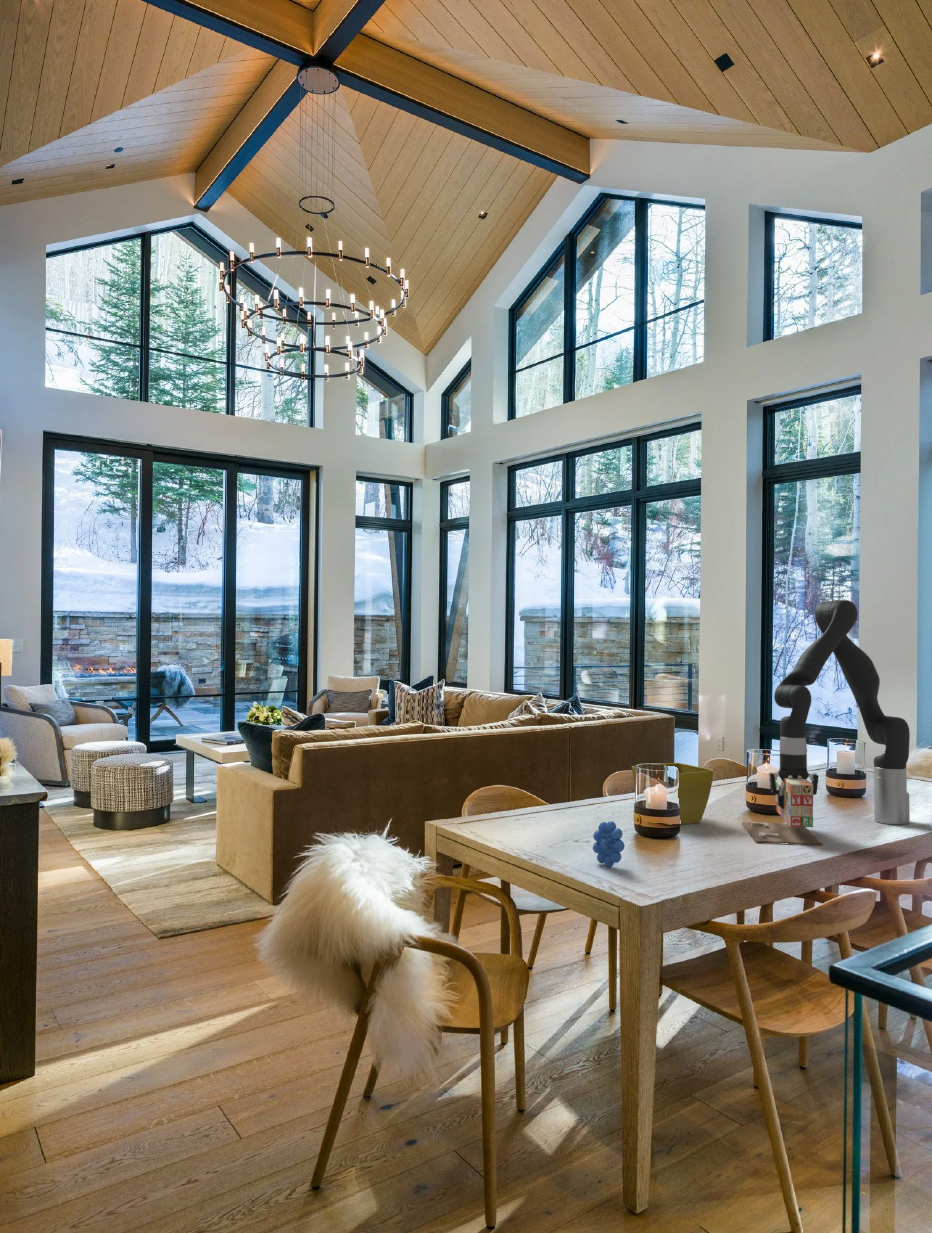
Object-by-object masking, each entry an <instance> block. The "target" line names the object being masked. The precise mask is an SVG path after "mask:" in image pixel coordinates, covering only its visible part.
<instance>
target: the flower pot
mask: <svg viewBox="0 0 932 1233" xmlns="http://www.w3.org/2000/svg"><path fill="white" fill-rule="evenodd" d="M653 765H666V766H675V767H677V768H678V770H679V788H678V798H679V805H680V820H681V824H680V825H686V824H698V823H700V822H702V819H703V816H704V814H705V811H706V809H707V805H708V801H709V798H710V794H711V790H712V786H713V780H714V770H713V769H709V768H704V767H701V766H696V765H692V764H687V763H686V764H685V763H681V762H670V763H657V764H653ZM637 766H638V765H632V766H631V771H632V777H633V782H634V783H633V784H634V786H635V785H636V782H635V779H636V773H635V771H636V767H637Z"/></svg>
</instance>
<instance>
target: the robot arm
mask: <svg viewBox="0 0 932 1233" xmlns="http://www.w3.org/2000/svg"><path fill="white" fill-rule="evenodd" d="M858 615H859V614H858V609H857V607H856V605H855V603H854V602H852V601H851V600H848V599H838V600H837V599H836V600H827V601H822V602H820V603H818V604H816V606H815V608H814V618H815V622H816V624H817V627H818V629H819V630H820V632H821V633H822V634H821V635H820V636H819V637H818V638H817V639H815V641H813V642H812V643H811V644H810V645H808V647H807V648H805V650H804V651H803V652H802V654H801V655H800V657H799V659H798V660H797V661H796V664H795V666H794V667H793V669H792V670H791V672H789V673H788V674H787V675H786V676H785V678H784V679H783V680H782V681H780V682H779V684H778V685H777V686H776V688H775V690H774V694H773V695H774V696H773V698H774V699H773V700H774V702H775V704H776V705H777V707H778V706H779V707H780V708H784V709H791V712H790V714H789V715H787V716H784V717H782V718H780V724H779V728H780V730H779V731H780V734H779V735H780V740H779V770H778V772H769V773H768V780H769V787H770V792H771V793H772V794H773V795H774V794H775V795H776V794H777V795H778V806H779V807H780V808H781V809H784V796H783V794H784V789H785V783H784V785H782V783H781V785H780V787H779V789H778V790H776V783H775V781H777V780H778V777H779V779H780V780H781V781H784V778H787V779H792V778H794V779H806V780H808V779H809V781H810V783H811V784H813V796H815V795H817V793H818V785H819V776H820V775H818V774H817V773H811V772H810V773H809V771H808V747H807V746H808V745H807V740H806V739H807V738H806V737H807V736H806V735H807V734H806V731H807V730H806V723H807V721H808V716H809V712H810V709H811V706H812V705H811V704H812V695H811V691H810V690H809V688H808V686H811V685H813V684H814V683H815V682H816V681H817V679H818V677H819V676H820V674H821V672H822V670H823V667H824V666H825V664H826V662H827V661H828V659H829V658H830V656H831V655H832V654H833V655H834V657H835V659H836V661H837V663H838V665H839V667H840V669H841V672H842V674H843V676H844V678H845V680H846V683H847V684H848V687H849V689H850V691H851V693H852V695H853V697H854V700H855V703H856V704H857V706H858V709H859V710H858V711H859V712H860V714H861V718H862V722H863V724H864V727H865V730H866V732H867V734H868V735H867V736H868V737H869V739H870V740H872V742H873V743H876V744H878V745H883V746H885V750H884V752H883V753H882V754H881V755H877V756H875V757H874V758H873V792H874V793H873V796H874V798H873V799H874V800H873V801H874V804H873V805H874V806H873V808H874V812H873V816H874V822H877V823H882V824H887V825H908V824H910V823H911V822H910V821H911V820H910V819H911V818H910V816H911V814H910V793H909V792H908V791H907V790H908V788H907V787H908V786H907V785H908V783H907V780H908V778H907V763H908V760H909V757H910V740H911V739H910V738H911V737H910V735H911V733H910V732H911V731H910V727H909V726H910V725H909V724H908V721H906V720H905V719H904V718H902V717H898V716H890V715H885V714H884V712H883V710H882V708H881V706H880V704H879V701H878V695H879V691H880V690H879V689H880V681H881V680H880V679H881V678H880V675H879V673H878V672H877V668H876V666H875V664H874V663H873V660H872V659H871V658H870V656H869V655H868V654H866V652H864V651H863V650H862V649H861V648H860V647H859V646H857V644H856V643H855V642H853V640H851V639H850V637H849V636H848V633H849V632H850V631H851V630H852V629H853V627H854V625H855V624H856V622H857V619H858Z"/></svg>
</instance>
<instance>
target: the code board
mask: <svg viewBox="0 0 932 1233" xmlns="http://www.w3.org/2000/svg"><path fill="white" fill-rule="evenodd" d="M741 825H742V826H743V828H744V829H745V831H746V830H747V831H746V832H747V833H748V835H749V834H750V835H749V836H750V837H751V839H752V838H753V839H752V841H754V843H755V842H756V843H755V844H764V843H788V844H787V845H793V844H803V845H802V846H824V845H823V842H822V841H821V840H820V839H818V838H817V837H816V836H815V834H813V833H812V832H811V831H810V830H809V828H808V827H791V826H790V825H789V824H788V823H785V822H784V823H782V822H781V823H779V822H778V823H777V822H754V821H753V822H750V821H749V822H748V821H747V822H746V821H744V822H743V821H741Z"/></svg>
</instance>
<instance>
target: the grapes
mask: <svg viewBox="0 0 932 1233" xmlns="http://www.w3.org/2000/svg"><path fill="white" fill-rule="evenodd" d="M597 828H598V829H597V830H595V831H594V833H593V839H594V841H595V842H594V843H593V846H592V850H593V852H594V853H595V854H597V856H596V860H597V861H598V862H597V863H599V864H604V865H605V867H606V868H612V867H613V866H614V864H618V863H619V862H620V861H621V860H622V854H621V852H623V851H624V849H625V843H624V841H623V840H622V838H623V831H622V830H621V829H620V828H618V827H617V824H616V822H614V821H612V820H609V821H608V822H607V821H601V822H600V823H599V825H598V827H597Z"/></svg>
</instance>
